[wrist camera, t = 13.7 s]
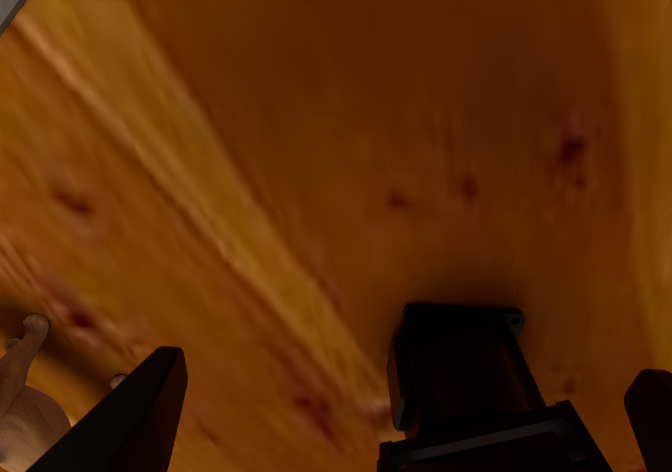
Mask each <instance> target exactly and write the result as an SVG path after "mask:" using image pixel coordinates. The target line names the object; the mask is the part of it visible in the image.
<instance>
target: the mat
mask: <svg viewBox="0 0 672 472" xmlns="http://www.w3.org/2000/svg"><path fill="white" fill-rule="evenodd" d="M25 1H26V0H0V35H1V34H2V32H3V31H4V30H5V28H6V27H7V26H8V24H9V23H10V21H11V20H12V19H13V17H14V16H15V15H16V13H17V12H18V11H19V9H20V8H21V7H22V5H23V4H24V3H25Z"/></svg>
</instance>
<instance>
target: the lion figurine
mask: <svg viewBox="0 0 672 472" xmlns="http://www.w3.org/2000/svg"><path fill="white" fill-rule="evenodd" d="M23 325H24V326H25V327H26V328H27V330H26V332H25V335H24V338H23V339H22V340H20V339H18V338H12V339H8V340H7V341H5V343H4V350H5V351H6V352H7V353H6V354H5V355H4V356H3V357H2V358H1V359H0V467H2V468H4V469H6V470H7V471H9V472H25V471H26V470H27V469H28V468H29V467H30V466H31V465H32V464H33V463H35V462H36V461H37V460H38V459H39V458H40V457H41V456H42V455H43V454H44V453H45V452H46V451H47V450H48V449H50V448H51V447H52V446H53V445H54V444H55V443H56V442H57V441H58V440H59V439H60V438H61V437H62V436H63V435H65V434H66V433H67V432H68V431H69V430H70V429H71V428H72V427H71V424H70V422H69V419H68V417H67V415H66V413H65V412H64V410H63V409H62V408H61V407H60V406H59V404H58V403H57V402H56V401H54V400H53V399H52V398H50V397H49V396H47V395H46V394H44V393H42V392H40V391H38V390H36V389H34V388H32V387H29V386H27V385H25V383H26V378H27V373H28V369H29V366H30V364H31V362H32V360H33V359H34V357H35V355H36V353H37V351H38V349H39V348H40V346H41V345H42V343H43V342H44V340H45V338H46V335H47V332H48V330H49V323H48V320H47V319H46V318H45V317H44V316H42V315H39V314H31V315H29V316H28V317H27V318H26V319H25V320H24V321H23ZM126 377H127V376H124V375H118V376H116V377H114V378H113V379H112V380H111V382H110V386H111V387H112V388H113V389H114V388H115V387H116V386H117V385H118V384H119V383H120V382H121V381H122V380H124V379H125V378H126Z"/></svg>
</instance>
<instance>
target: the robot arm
mask: <svg viewBox="0 0 672 472" xmlns="http://www.w3.org/2000/svg"><path fill="white" fill-rule="evenodd" d="M412 312H416V313H415V314H411V313H412ZM513 318H515V319H513ZM524 322H525V318H524V316H523V314H522V312H521V311H520V310H518V309H507V308H488V307H469V306H450V305H431V304H409V305H407V306H406V307H405V308H404V311H403V316H402V321H401V326H400V330H399V335H398V336H395V337H394V338H393V339H392V342H391V347H390V352H389V357H388V362H387V376H388V385H389V394H390V402H391V411H392V419H393V427H394V428H395V429H396V430H397V431H398V432H405V437H406V439H405V440H401V441H397V442H392V441H388V442H383V443H380V452H379V460H378V461H377V472H613V471H612V469H611V468H610V466H609V465H608V463H607V461H606V460H605V458H604V456H603V455H602V453H601V451H600V450H599V448H598V447H597V445H596V443H595V442H594V440H593V438H592V437H591V435H590V433H589V432H588V430H587V429H586V427H585V425H584V424H583V422H582V420H581V419H580V417H579V416H578V414H577V412H576V411H575V409H574V407H573V406H572V404H571V402H570V401H569V400H565V401H560V402H556V405H553V406H549V407H547V406H546V404H545V402H544V400H543V398H542V395H541V393H540V391H539V389H538V387H537V384H536V382H535V380H534V378H533V375H532V373H531V371H530V369H529V367H528V364H527V362H526V360H525V358H524V356H523V353H522V351H521V349H520V347H519V345H518V342H517V338H518V336H519V334H520V331H521V329H522V327H523V324H524ZM187 382H188V374H187V368H186V363H185V357H184V352H183V350H182V348H181V347H175V346H161V347H158V348H157V349H156V350H155V351H154V352H152V353H151V354H150V355H149V356H148V357H147V358H146V359H145V360H144V361H143V362H142V363H141V364H140V365H139V366H137V367H136V368H135V369H134V370H133V371H132V372H131V373H130V374H129V375H128V376H127V377H126V378H125V379H124V380H122V381H121V382H120V383H119V384H118V385H117V386H116V387H115V388H114V389H113V390H112V391H111V392H110V393H109V394H107V395H106V396H105V397H104V398H103V399H102V400H101V401H100V402H99V403H98V404H97V405H96V406H95V407H93V408H92V409H91V410H90V411H89V412H88V413H87V414H86V415H85V416H84V417H83V418H82V419H81V420H80V421H78V422H77V423H76V424H75V425H74V426H73V427H72V428H71V429H70V430H69V431H68V432H67V433H66V434H65V435H63V436H62V437H61V438H60V439H59V440H58V441H57V442H56V443H55V444H54V445H53V446H52V447H51V448H50V449H48V450H47V451H46V452H45V453H44V454H43V455H42V456H41V457H40V458H39V459H38V460H37V461H36V462H35V463H33V464H32V465H31V466H30V467H29V468H28V469H27V470H26V471H25V472H167V470H168V467H169V463H170V459H171V455H172V450H173V446H174V441H175V437H176V433H177V428H178V424H179V419H180V415H181V411H182V406H183V402H184V397H185V393H186V388H187ZM624 405H625V409H626V412H627V414H628V417H629V420H630V423H631V426H632V429H633V431H634V434H635V437H636V440H637V443H638V446H639V448H640V451H641V454H642V457H643V460H644V462H645V465H646V468H647V471H648V472H672V373H670V372H668V371H666V370H661V369H644V370H642V371H641V372H640V373H639V374H638V375H637V377H636V378H635V380H634V381H633V383H632V384H631V386H630V387H629V389H628V390H627V391H626V393H625V396H624Z"/></svg>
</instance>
